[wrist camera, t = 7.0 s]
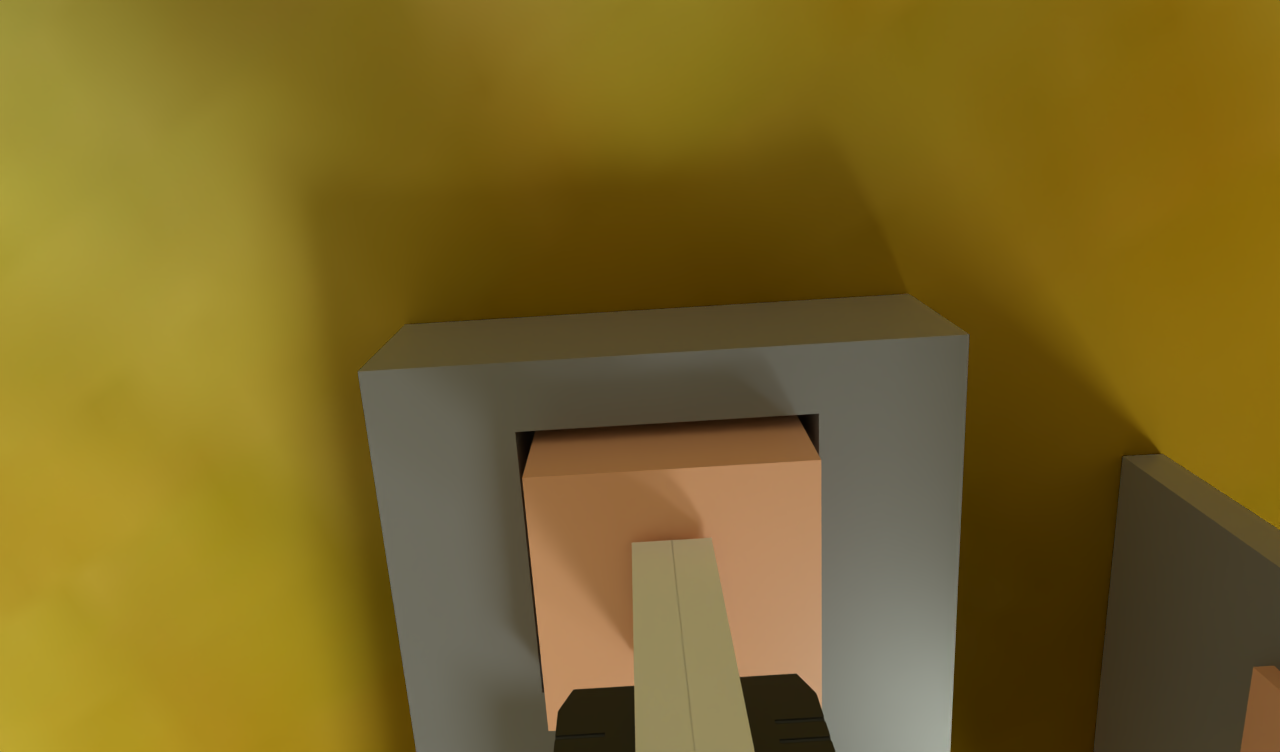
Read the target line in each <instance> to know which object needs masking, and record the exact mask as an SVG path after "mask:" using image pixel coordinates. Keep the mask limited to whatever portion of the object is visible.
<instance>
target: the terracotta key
mask: <svg viewBox="0 0 1280 752" xmlns="http://www.w3.org/2000/svg"><path fill="white" fill-rule="evenodd" d="M522 481H523V491H524V500H525V510H526V520H527V529H528V539H529V548H530V558H531V568H532V577H533V587H534V597H535V606H536V616H537V626H538V635H539V645H540V654H541V664H542V674H543V683H544V693H545V703H546V712H547V722H548V731H556V724H557V714H558V710H559V709H560V708H561V706H562V705H563V703H564V702H565V700H566V699H567V698H568V696H569V695H570V693H571V692H572V691H573V689H588V688H605V687H621V686H634V646H633V592H632V543H633V542H649V541H665V540H682V539H698V538H712V543H713V548H714V553H715V558H716V563H717V568H718V573H719V578H720V583H721V588H722V593H723V597H724V602H725V607H726V612H727V617H728V622H729V627H730V632H731V637H732V642H733V647H734V652H735V657H736V662H737V667H738V672H739V677H747V676H763V675H779V674H796V673H797V674H798V675H799V676H800V677H801V678H802V679H803V680H804V681H805V682H806V683H807V684H808V685H809V686H810V687H811V688H812V689H813V690H814V691H815V692H816V693H817V696H818V699H819V703H820V706H821V709H822V532H821V458H820V457H819V455H818V453H817V451H816V449H815V447H814V446H813V444H812V442H811V440H810V438H809V437H808V435H807V433H806V431H805V429H804V427H803V426H802V424H801V422H800V420H799V418H798V416H797V415H787V416H771V417H754V418H738V419H721V420H705V421H688V422H672V423H655V424H639V425H622V426H606V427H589V428H573V429H556V430H540V431H535V434H534V437H533V441H532V445H531V448H530V452H529V455H528V459H527V463H526V466H525V470H524V473H523V477H522Z"/></svg>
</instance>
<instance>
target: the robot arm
mask: <svg viewBox="0 0 1280 752" xmlns="http://www.w3.org/2000/svg"><path fill="white" fill-rule="evenodd" d="M632 592H633V646H634V686H621V687H605V688H588V689H573V691H572V692H571V693H570V695H569V696H568V698H567V699H566V700H565V702H564V703H563V705H562V706H561V708H560V709H559V710H558V714H557V724H556V733H555V742H554V752H835V749H834V745H833V742H832V741H831V738H830V733H829V730H828V727H827V724H826V721H825V720H824V715H823V712H822V709H821V706H820V703H819V699H818V696H817V693H816V692H815V691H814V690H813V689H812V688H811V687H810V686H809V685H808V684H807V683H806V682H805V681H804V680H803V679H802V678H801V677H800V676H799V675H798V674H797V673H796V674H779V675H763V676H747V677H739V672H738V667H737V662H736V657H735V652H734V647H733V642H732V637H731V632H730V627H729V622H728V617H727V612H726V607H725V602H724V597H723V593H722V588H721V583H720V578H719V573H718V568H717V563H716V558H715V553H714V548H713V543H712V538H698V539H682V540H665V541H649V542H633V543H632Z"/></svg>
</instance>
